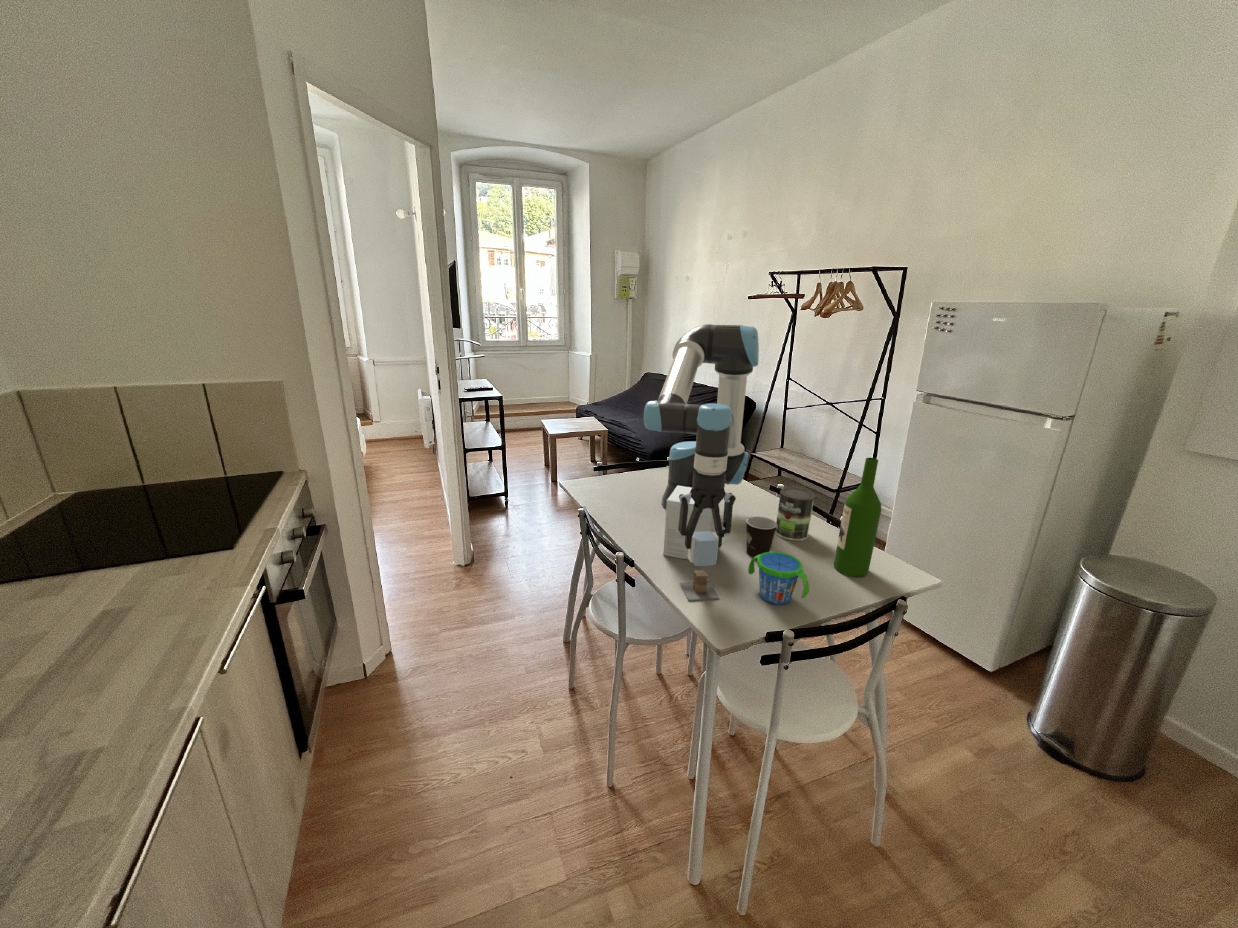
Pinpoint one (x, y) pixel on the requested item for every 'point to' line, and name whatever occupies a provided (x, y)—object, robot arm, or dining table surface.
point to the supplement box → (673, 538)
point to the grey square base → (699, 588)
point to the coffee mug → (759, 535)
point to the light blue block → (705, 548)
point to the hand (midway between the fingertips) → (701, 558)
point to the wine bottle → (859, 526)
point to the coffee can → (794, 513)
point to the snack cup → (778, 576)
